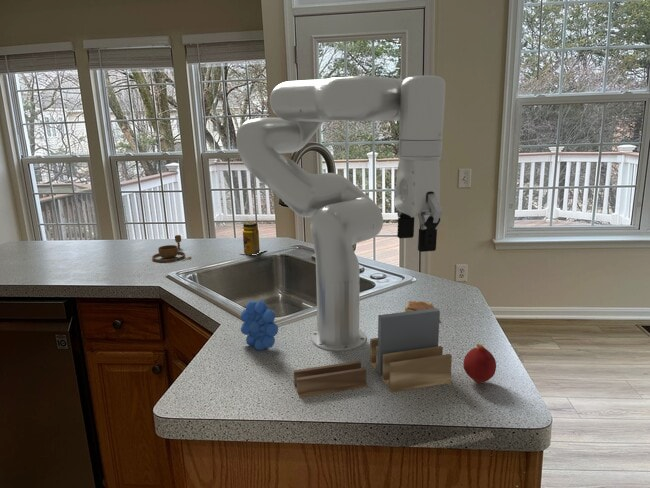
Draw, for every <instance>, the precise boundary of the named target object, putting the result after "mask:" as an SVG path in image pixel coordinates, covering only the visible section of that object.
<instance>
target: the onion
mask: <svg viewBox="0 0 650 488" xmlns="http://www.w3.org/2000/svg"><path fill="white" fill-rule="evenodd" d="M462 364H463V370H464V372H465V373H466V375H467V376H468V377H469V378H470V379H471V380H473V382H475V383H476V384H482V383H485V382H488V381H489V380H491V379H492V378H493V377H494V375H495V374H496V371H497V362H496V359H495V356H494V355H493V354H492V353H491V351H489V350H488V349H487V348H485V347H484V346H483V344H481V343H477V344H476V347H474V348H472V349H470V350H469V351H468V352H467V353H466V354H465V356H464V359H463V363H462Z"/></svg>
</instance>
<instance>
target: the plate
mask: <svg viewBox="0 0 650 488" xmlns="http://www.w3.org/2000/svg"><path fill="white" fill-rule="evenodd" d="M440 313H441V310H440V309H438V308H436V307H434V308H433V309H425V310H417V311H408V312H406V311H401V312H395V313H386V314H378V315H377V316H378V317H377V318H378V319H377V320H378V321H377V325H378V326H377V338H378V373H377V374H378V375H379V377H380V376H382V374H383V354H388V353H395V352H401V351H408V350H415V349H422V348H429V347H436V346H439V337H440V336H439V333H440V315H441V314H440Z"/></svg>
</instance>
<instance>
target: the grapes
mask: <svg viewBox="0 0 650 488" xmlns="http://www.w3.org/2000/svg"><path fill="white" fill-rule="evenodd" d="M240 319H241V321H242V322H243V323H242V325H241V327H240V332H241V334H243V335H245V336H246V339H245V342H246V344H247V345H248V346H250V347H252V346H254V349H255V350H257V351H264V350H266V348H268V349H269V348H272V347H273V346H274V345H275V341H276V340H275V339H276V338H275V336H276V335H277V334H278V333H279V332H278V331H279V326H278V325H277V324H276V323H275V319H276V313H275V311H274V310H273V309H270V308H269V309H268V304H267V302H265V301H264V300H258V301H255V300H250V301H248V302H247V304H246V306H245V309H243V311H241V313H240Z"/></svg>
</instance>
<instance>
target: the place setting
mask: <svg viewBox="0 0 650 488" xmlns="http://www.w3.org/2000/svg"><path fill="white" fill-rule="evenodd" d="M174 240H175V242H176V243H177V245H174V244H167V245H162V246H160V247H158V248H157V249H158V253H155V254H153V255H152V256H151V258H152V261H154V262H156V263H174V262H179V261H181V262H184V261H189V260H191V259H192V256H189V257H186V253H185V252H184V251H179V250H180V249H181V244H180V243H181V242H182V235H181V234H176V235H174ZM177 256H179V257H177ZM157 258H160V259H157ZM161 258H162V259H161Z"/></svg>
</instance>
